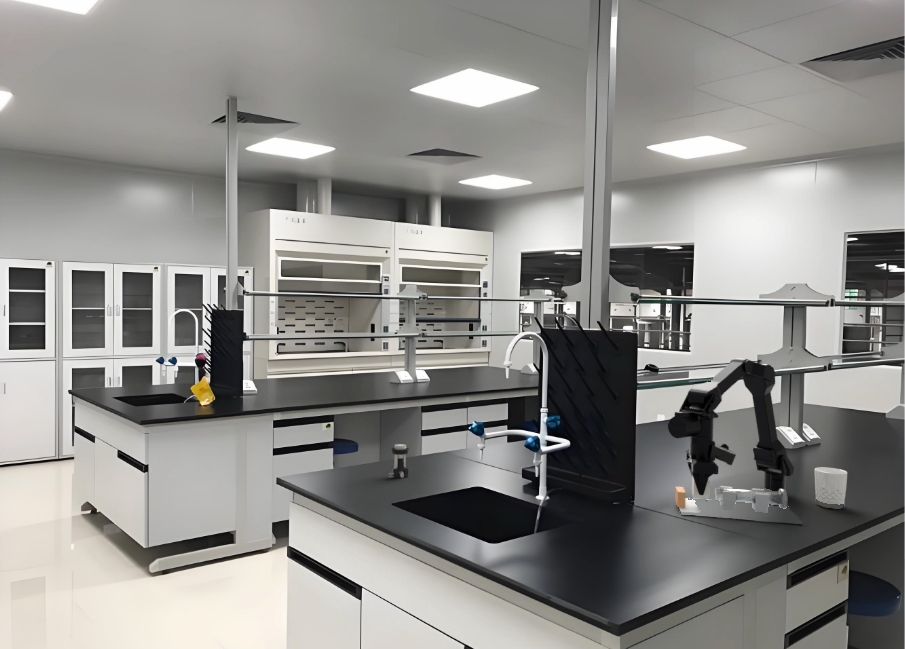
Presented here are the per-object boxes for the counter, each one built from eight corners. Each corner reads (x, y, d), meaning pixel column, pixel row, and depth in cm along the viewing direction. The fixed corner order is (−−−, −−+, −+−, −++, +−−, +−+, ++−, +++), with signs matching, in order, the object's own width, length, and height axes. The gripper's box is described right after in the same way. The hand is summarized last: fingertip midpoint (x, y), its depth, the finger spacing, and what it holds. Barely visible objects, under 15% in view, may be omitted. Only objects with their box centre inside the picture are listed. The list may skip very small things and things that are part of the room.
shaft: (714, 500, 181) (714, 482, 181) (782, 505, 178) (782, 486, 177) (717, 505, 177) (717, 486, 176) (787, 511, 173) (787, 491, 173)
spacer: (691, 494, 182) (692, 475, 182) (707, 495, 181) (707, 476, 181) (693, 497, 178) (694, 479, 178) (709, 499, 177) (709, 480, 177)
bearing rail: (673, 500, 188) (674, 479, 188) (787, 509, 181) (788, 487, 181) (678, 515, 174) (679, 492, 174) (802, 525, 168) (802, 501, 168)
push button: (392, 480, 204) (393, 448, 204) (384, 476, 209) (384, 444, 209) (411, 477, 208) (412, 445, 208) (402, 474, 213) (403, 442, 212)
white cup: (846, 505, 187) (847, 469, 187) (846, 512, 180) (847, 475, 180) (814, 500, 191) (815, 465, 191) (813, 507, 184) (814, 471, 184)
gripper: (740, 443, 169) (738, 504, 169) (727, 430, 187) (726, 486, 187) (693, 440, 171) (692, 501, 171) (685, 428, 189) (684, 483, 190)
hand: (700, 492), depth 180 cm, fingers closed on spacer, 4 cm apart
